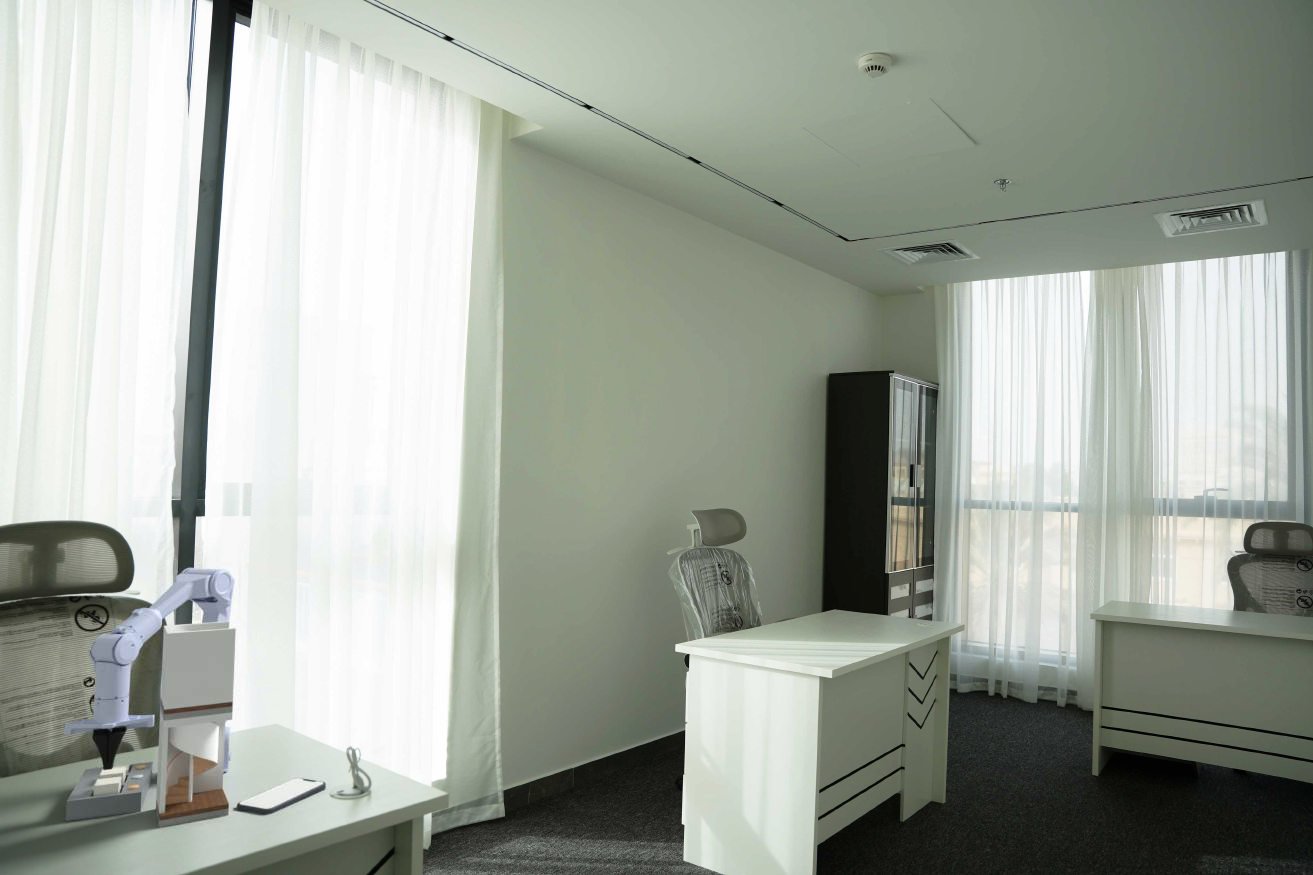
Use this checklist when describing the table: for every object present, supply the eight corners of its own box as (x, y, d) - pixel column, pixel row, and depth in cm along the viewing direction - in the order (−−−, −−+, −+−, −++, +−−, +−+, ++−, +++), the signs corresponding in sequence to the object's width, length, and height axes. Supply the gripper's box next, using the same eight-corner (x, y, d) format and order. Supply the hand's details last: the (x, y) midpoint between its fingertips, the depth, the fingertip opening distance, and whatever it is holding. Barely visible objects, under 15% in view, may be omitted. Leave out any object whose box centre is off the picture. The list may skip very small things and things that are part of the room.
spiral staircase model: (159, 827, 156) (167, 633, 158) (155, 808, 165) (163, 625, 167) (228, 814, 162) (235, 628, 164) (221, 797, 171) (228, 621, 173)
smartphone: (268, 818, 162) (328, 789, 177) (268, 810, 162) (328, 781, 177) (233, 812, 165) (295, 784, 180) (233, 803, 165) (295, 776, 180)
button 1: (120, 791, 167) (121, 776, 167) (117, 798, 163) (118, 782, 163) (96, 794, 165) (97, 779, 165) (93, 801, 161) (93, 785, 162)
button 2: (129, 778, 178) (129, 763, 178) (126, 784, 175) (127, 769, 175) (106, 780, 177) (107, 766, 177) (103, 787, 173) (104, 772, 173)
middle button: (125, 781, 173) (126, 766, 173) (122, 787, 169) (123, 772, 169) (102, 784, 171) (102, 769, 171) (98, 790, 167) (99, 775, 167)
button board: (151, 778, 181) (152, 760, 182) (140, 811, 163) (141, 790, 163) (84, 786, 176) (85, 767, 176) (65, 820, 158) (66, 800, 158)
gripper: (62, 704, 158) (58, 779, 158) (153, 697, 165) (149, 769, 164) (70, 696, 165) (66, 768, 164) (156, 689, 171) (153, 758, 170)
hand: (108, 768), depth 164 cm, fingers closed
